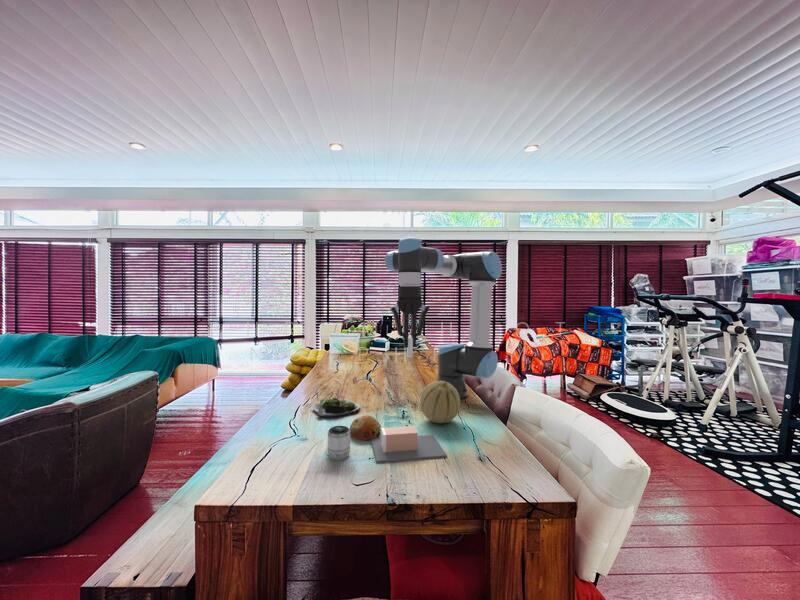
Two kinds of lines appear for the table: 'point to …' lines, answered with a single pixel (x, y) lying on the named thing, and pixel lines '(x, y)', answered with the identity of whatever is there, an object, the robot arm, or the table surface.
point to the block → (399, 439)
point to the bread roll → (365, 428)
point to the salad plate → (336, 408)
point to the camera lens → (338, 442)
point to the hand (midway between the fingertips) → (409, 357)
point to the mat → (425, 450)
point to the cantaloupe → (440, 402)
